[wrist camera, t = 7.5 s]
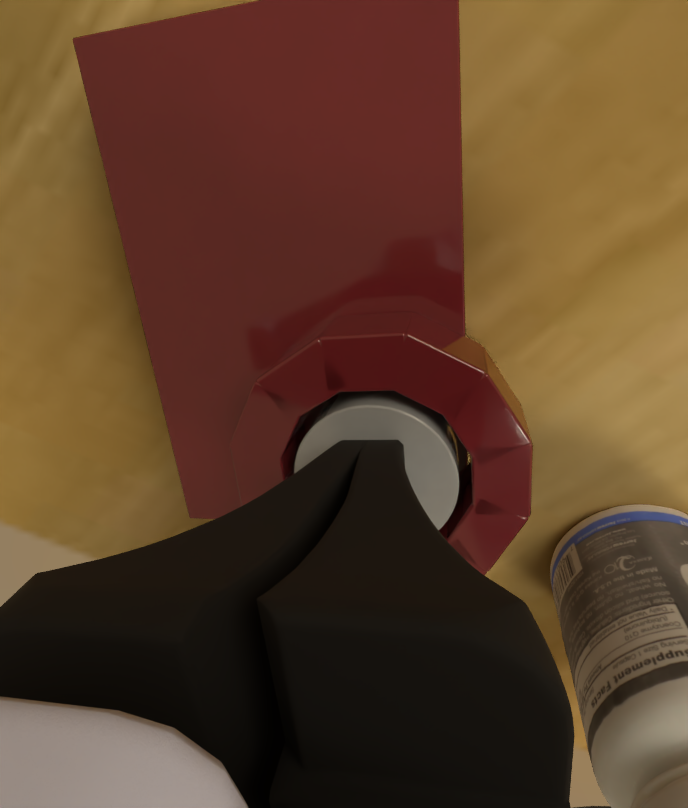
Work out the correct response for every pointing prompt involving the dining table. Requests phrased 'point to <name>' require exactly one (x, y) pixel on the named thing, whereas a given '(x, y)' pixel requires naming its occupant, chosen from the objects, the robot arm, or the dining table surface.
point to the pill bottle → (629, 648)
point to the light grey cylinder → (394, 420)
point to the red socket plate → (302, 239)
